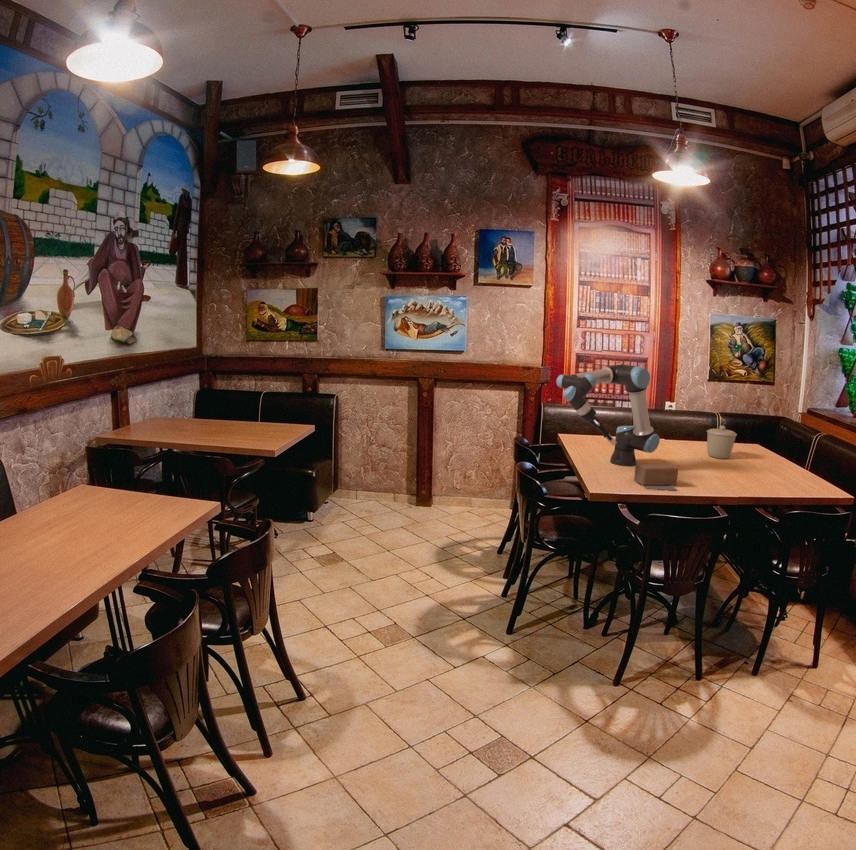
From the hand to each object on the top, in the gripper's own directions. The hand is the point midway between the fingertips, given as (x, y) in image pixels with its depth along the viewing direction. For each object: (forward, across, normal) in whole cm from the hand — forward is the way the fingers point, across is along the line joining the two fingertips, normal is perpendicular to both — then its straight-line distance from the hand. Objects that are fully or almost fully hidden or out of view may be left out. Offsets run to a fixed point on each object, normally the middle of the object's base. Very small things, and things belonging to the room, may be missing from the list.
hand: (614, 443), depth 322 cm
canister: (+81, -75, +50) cm, 121 cm away
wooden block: (+22, -1, -1) cm, 22 cm away
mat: (+33, 0, +2) cm, 33 cm away
